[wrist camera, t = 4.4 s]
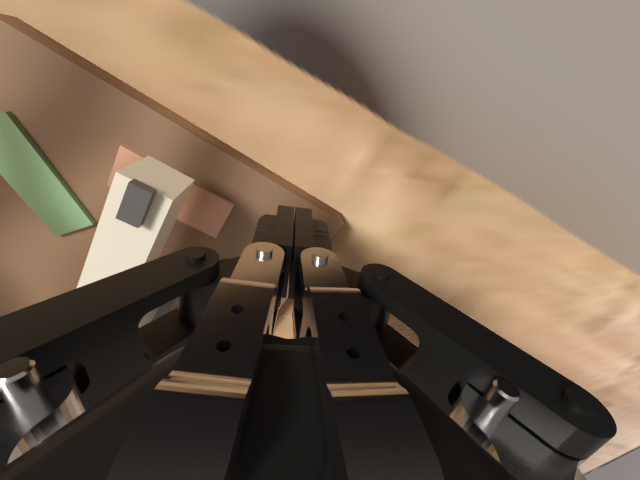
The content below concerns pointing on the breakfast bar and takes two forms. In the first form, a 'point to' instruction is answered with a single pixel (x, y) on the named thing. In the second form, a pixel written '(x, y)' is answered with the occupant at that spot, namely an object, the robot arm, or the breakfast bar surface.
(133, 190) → the peg
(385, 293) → the robot arm
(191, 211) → the board
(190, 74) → the breakfast bar surface
